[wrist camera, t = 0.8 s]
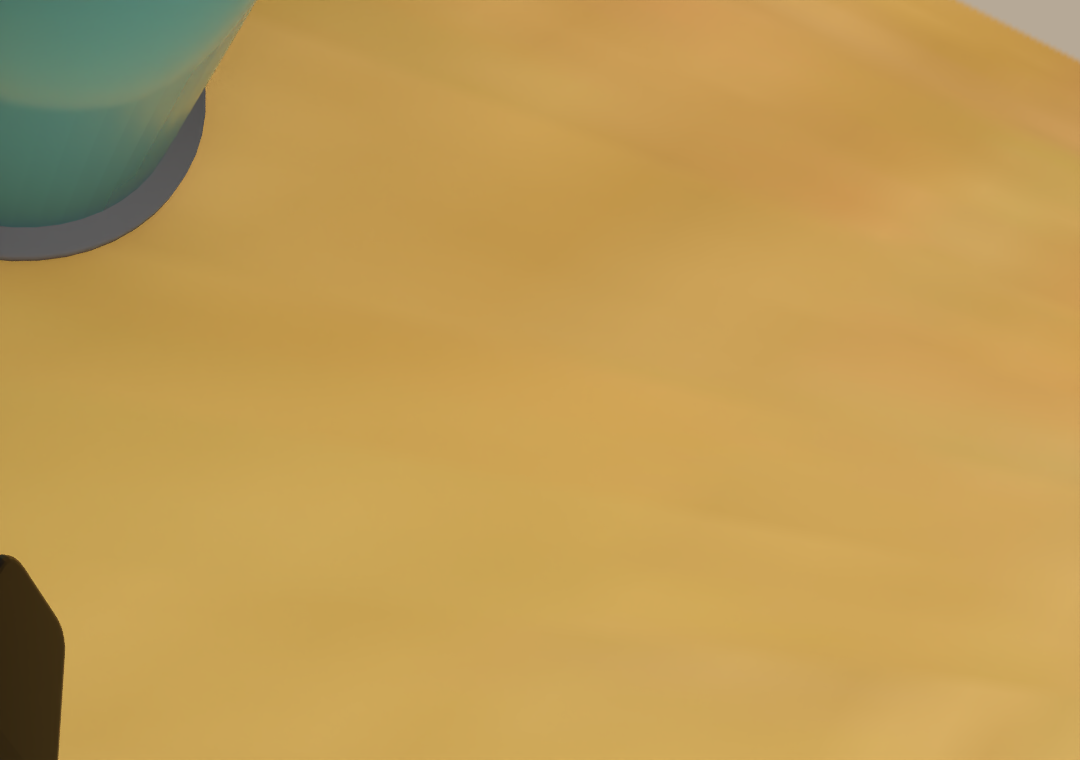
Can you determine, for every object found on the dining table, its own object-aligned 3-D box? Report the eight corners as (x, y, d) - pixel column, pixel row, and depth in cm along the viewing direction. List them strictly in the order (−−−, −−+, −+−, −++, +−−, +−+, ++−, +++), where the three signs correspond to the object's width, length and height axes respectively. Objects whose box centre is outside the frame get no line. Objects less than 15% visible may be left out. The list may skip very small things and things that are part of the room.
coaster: (54, 338, 18) (56, 334, 18) (-349, 70, 16) (-354, 59, 16) (267, 78, 21) (273, 70, 21) (-45, -181, 19) (-43, -194, 19)
